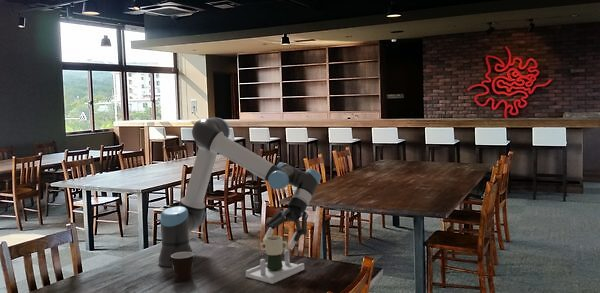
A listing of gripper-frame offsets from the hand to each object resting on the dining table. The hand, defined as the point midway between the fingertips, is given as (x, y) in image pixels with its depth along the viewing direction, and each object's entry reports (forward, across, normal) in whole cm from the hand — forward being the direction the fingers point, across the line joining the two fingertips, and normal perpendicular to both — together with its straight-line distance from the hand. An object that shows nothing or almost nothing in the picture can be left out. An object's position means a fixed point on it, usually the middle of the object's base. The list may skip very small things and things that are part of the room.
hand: (277, 244), depth 213 cm
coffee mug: (+27, +26, +10) cm, 39 cm away
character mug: (+8, +1, -7) cm, 10 cm away
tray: (+9, 0, -8) cm, 12 cm away
